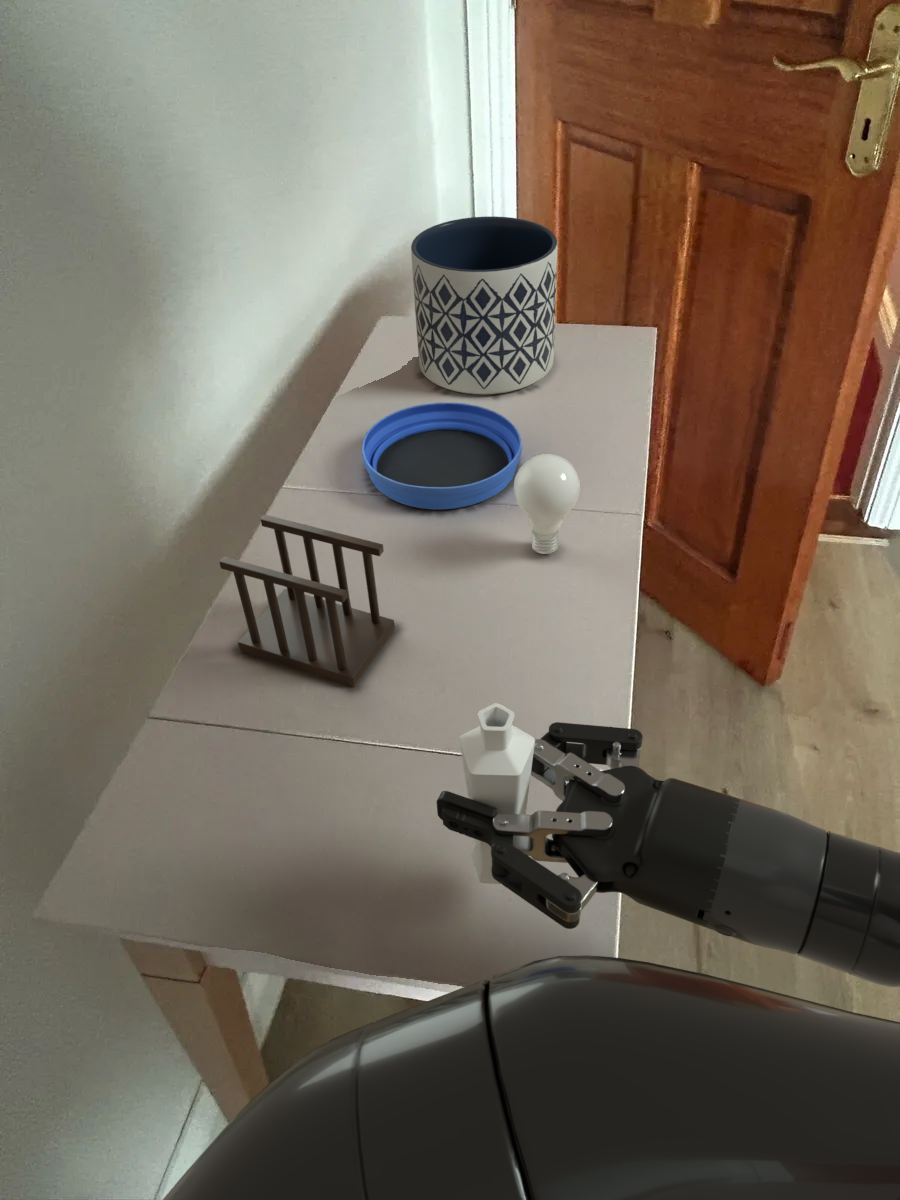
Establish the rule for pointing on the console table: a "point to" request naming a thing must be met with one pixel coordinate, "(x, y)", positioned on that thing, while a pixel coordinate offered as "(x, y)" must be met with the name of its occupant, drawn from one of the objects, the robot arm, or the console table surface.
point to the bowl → (442, 455)
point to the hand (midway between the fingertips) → (457, 773)
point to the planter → (485, 303)
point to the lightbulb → (546, 497)
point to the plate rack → (313, 609)
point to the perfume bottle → (496, 772)
